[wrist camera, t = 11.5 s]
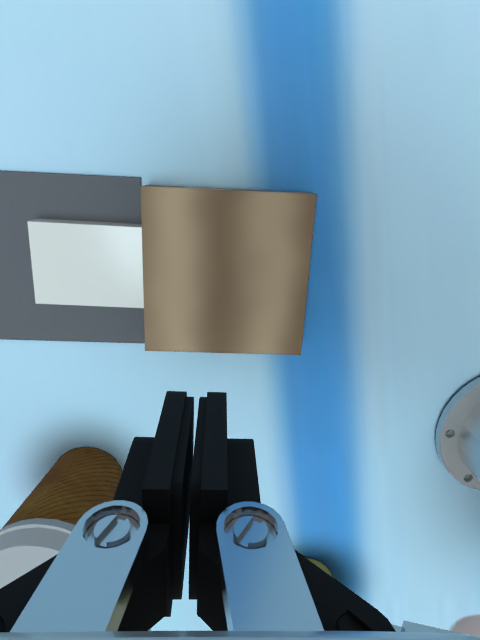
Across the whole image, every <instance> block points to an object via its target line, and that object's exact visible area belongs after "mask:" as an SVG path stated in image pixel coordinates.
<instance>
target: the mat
mask: <svg viewBox="0 0 480 640" xmlns="http://www.w3.org/2000/svg"><path fill="white" fill-rule="evenodd" d="M35 219H57V220H76V221H94V222H113V223H132V224H142V222H141V178H139V177H118V176H97V175H76V174H55V173H34V172H13V171H0V339H10V340H45V341H80V342H116V343H145V331H144V308H128V307H105V306H81V305H58V304H36V303H35V293H34V283H33V273H32V263H31V253H30V243H29V233H28V223H27V221H31V220H35Z"/></svg>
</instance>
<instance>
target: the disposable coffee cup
mask: <svg viewBox="0 0 480 640" xmlns="http://www.w3.org/2000/svg"><path fill="white" fill-rule="evenodd" d="M121 475H122V469H121V467H120V465H119V463H118V462H117V461H116V460H115V458H113V457H112V456H111V455H110V454H108V453H106V452H105V451H102V450H100V449H96V448H90V447H81V448H75V449H73V450H70V451H68V452H66V453H65V454H63V455H62V456H61V457H60V458H59V460H58V461H57V462H56V463H55V465H54V466H53V467H52V468H51V469H50V471H49V472H48V473H47V474H46V475H45V477H44V478H43V479H42V480H41V482H40V483H39V484H38V485H37V486H36V488H35V489H34V490H33V491H32V493H31V494H30V495H29V496H28V497H27V498H26V500H25V501H24V502H23V504H22V505H21V506H20V507H19V508H18V509H17V511H16V512H15V513H14V514H13V515H12V517H11V518H10V519H9V521H8V522H7V523H6V524H5V525H4V527H3V528H2V529H1V530H0V589H1V588H2V587H4V586H6V585H7V584H9V583H11V582H12V581H14V580H16V579H17V578H19V577H20V576H22V575H24V574H25V573H27V572H29V571H30V570H32V569H34V568H35V567H37V566H39V565H40V564H42V563H44V562H45V561H47V560H49V559H50V558H52V557H54V556H55V555H57V554H58V553H59V551H60V550H61V548H62V546H63V545H64V543H65V542H66V540H67V538H68V537H69V535H70V533H71V532H72V530H73V529H74V527H75V525H76V524H77V522H78V521H79V519H80V518H81V517H82V516H83V515H84V514H85V513H86V512H87V511H89V510H90V509H91V508H93V507H95V506H97V505H99V504H102V503H104V502H109V501H113V498H114V496H115V493H116V490H117V487H118V484H119V481H120V478H121Z"/></svg>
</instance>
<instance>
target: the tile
mask: <svg viewBox="0 0 480 640" xmlns="http://www.w3.org/2000/svg"><path fill="white" fill-rule="evenodd" d="M27 223H28V233H29V243H30V253H31V263H32V273H33V283H34V293H35V303H36V304H58V305H81V306H105V307H128V308H144V295H143V258H142V224H132V223H113V222H94V221H76V220H57V219H35V220H31V221H27Z"/></svg>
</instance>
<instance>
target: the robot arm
mask: <svg viewBox="0 0 480 640" xmlns="http://www.w3.org/2000/svg"><path fill="white" fill-rule="evenodd" d="M193 429H194V397H187V392H177V391H167V393H166V396H165V400H164V404H163V408H162V412H161V416H160V420H159V424H158V428H157V431H156V435H155V437H135V438H134V440H133V442H132V445H131V448H130V451H129V454H128V457H127V460H126V463H125V466H124V469H123V472H122V475H121V478H120V481H119V484H118V487H117V490H116V493H115V496H114V498H113V501H109V502H104V503H102V504H99V505H97V506H95V507H93V508H91V509H90V510H89V511H87V512H86V513H85V514H84V515H83V516H82V517H81V518H80V519H79V521H78V522H77V524H76V525H75V527H74V529H73V530H72V532H71V533H70V535H69V537H68V538H67V540H66V542H65V543H64V545H63V546H62V548H61V550H60V551H59V553H58V554H57V555H55V556H54V557H52V558H50V559H49V560H47V561H45V562H44V563H42V564H40V565H39V566H37V567H35V568H34V569H32V570H30V571H29V572H27V573H25V574H24V575H22V576H20V577H19V578H17V579H16V580H14V581H12V582H11V583H9V584H7V585H6V586H4V587H2V588H1V589H0V640H480V636H475V635H466V634H461V633H457V632H453V631H448V630H444V629H439V628H435V627H430V626H426V625H421V624H417V623H412V622H408V621H403V625H402V627H400V626H396V625H391V623H390V622H389V620H388V619H387V618H386V617H385V616H384V615H383V614H381V613H380V612H379V611H378V610H377V609H376V608H374V607H373V606H372V605H370V604H369V603H367V602H366V601H365V600H363V599H362V598H361V597H359V596H358V595H356V594H355V593H354V592H352V591H351V590H349V589H348V588H347V587H345V586H344V585H343V584H341V583H340V582H338V581H337V580H336V579H334V578H333V577H332V576H330V575H329V574H327V573H326V572H325V571H323V570H322V569H321V568H319V567H318V566H316V565H315V564H314V563H312V562H311V561H309V560H308V559H307V558H305V557H304V556H303V555H301V554H300V553H298V552H297V551H296V550H294V547H293V545H292V542H291V539H290V537H289V534H288V531H287V528H286V526H285V523H284V521H283V520H282V518H281V516H280V515H279V514H278V513H277V512H276V511H275V510H274V509H273V508H271V507H269V506H267V505H265V504H261V502H260V493H259V484H258V476H257V467H256V458H255V449H254V442H253V439H227V402H226V393H221V392H207V397H200V399H199V408H198V418H197V427H196V437H195V447H194V456H193ZM435 443H436V449H437V453H438V455H439V458H440V460H441V462H442V463H443V465H444V466H445V468H446V469H447V470H448V472H449V473H450V474H451V475H452V476H453V477H454V478H455V479H456V480H458V481H459V482H461V483H462V484H464V485H466V486H469V487H472V488H474V489H479V490H480V377H478V378H476V379H474V380H473V381H471V382H470V383H469V384H467V385H466V386H464V387H463V388H462V389H461V390H460V391H459V392H458V393H457V394H456V395H455V396H454V397H453V398H452V399H451V400H450V402H449V403H448V404H447V406H446V407H445V409H444V411H443V413H442V415H441V417H440V419H439V422H438V425H437V429H436V439H435ZM189 517H190V534H189V599H197V615H198V616H199V617H200V618H201V619H202V620H203V621H204V622H205V623H206V624H207V625H208V626H209V627H210V628H211V629H212V630H213V631H151V628H152V627H153V626H154V625H155V624H156V623H157V622H159V621H160V620H161V619H162V618H163V617H171V608H172V600H173V599H181V598H182V589H183V579H184V569H185V558H186V548H187V538H188V528H189Z"/></svg>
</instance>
